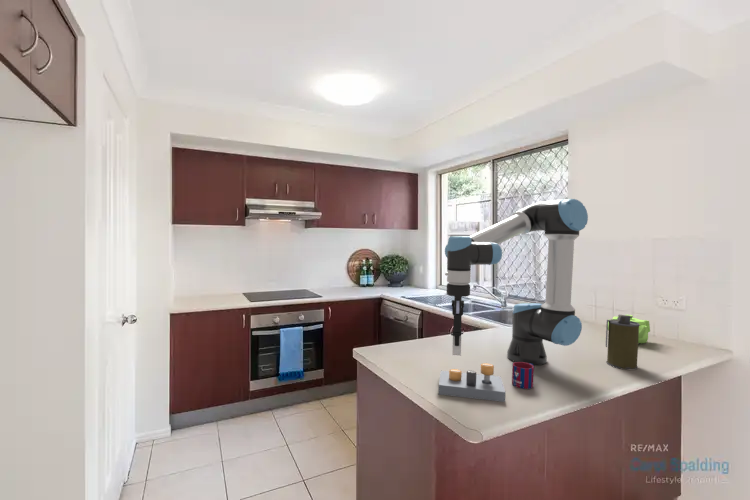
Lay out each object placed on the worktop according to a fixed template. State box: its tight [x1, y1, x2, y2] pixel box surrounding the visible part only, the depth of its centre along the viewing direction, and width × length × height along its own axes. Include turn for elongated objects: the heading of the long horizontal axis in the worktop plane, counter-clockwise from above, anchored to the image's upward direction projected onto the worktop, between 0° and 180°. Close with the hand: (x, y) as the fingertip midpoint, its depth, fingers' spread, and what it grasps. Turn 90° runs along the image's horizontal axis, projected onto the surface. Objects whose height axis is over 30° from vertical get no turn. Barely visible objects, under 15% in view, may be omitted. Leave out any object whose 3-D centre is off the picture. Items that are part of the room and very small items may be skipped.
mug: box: [511, 361, 535, 390], centre depth 126 cm, size 7×10×7 cm
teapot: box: [608, 314, 651, 344], centre depth 180 cm, size 18×20×13 cm
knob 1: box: [448, 368, 463, 381], centre depth 121 cm, size 4×4×6 cm
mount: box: [438, 370, 506, 403], centre depth 120 cm, size 20×13×3 cm, turn 77°
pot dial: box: [466, 370, 477, 387], centre depth 117 cm, size 3×3×4 cm
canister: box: [605, 314, 640, 370], centre depth 147 cm, size 11×10×20 cm
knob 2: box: [480, 362, 495, 383], centre depth 119 cm, size 4×4×6 cm
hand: (456, 354), depth 121 cm, fingers closed
